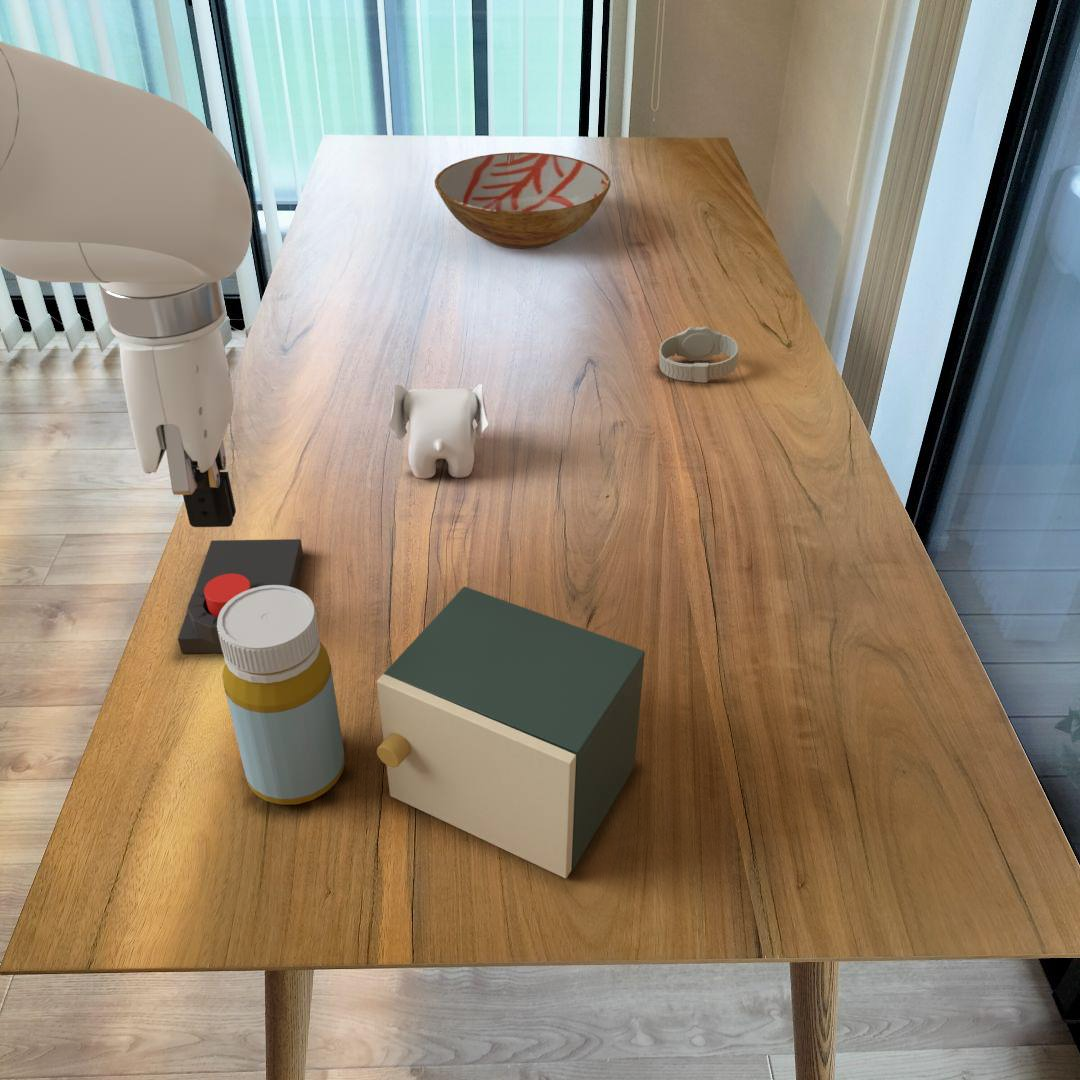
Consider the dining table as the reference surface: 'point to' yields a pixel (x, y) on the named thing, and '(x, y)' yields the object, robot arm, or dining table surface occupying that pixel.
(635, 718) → the cupboard
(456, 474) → the elephant figurine
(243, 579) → the button
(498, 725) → the door
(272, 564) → the switch
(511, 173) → the bowl
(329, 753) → the bottle
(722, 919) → the dining table surface
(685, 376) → the wristwatch
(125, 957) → the dining table surface
